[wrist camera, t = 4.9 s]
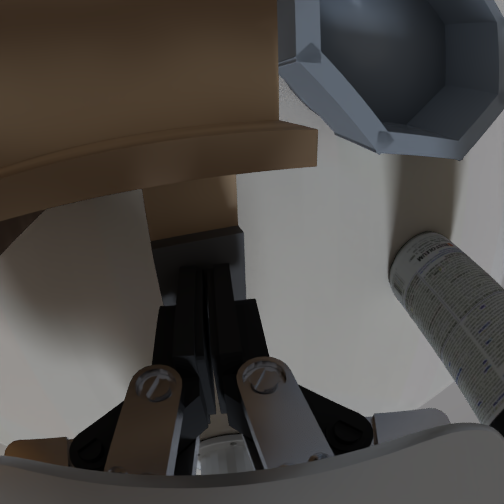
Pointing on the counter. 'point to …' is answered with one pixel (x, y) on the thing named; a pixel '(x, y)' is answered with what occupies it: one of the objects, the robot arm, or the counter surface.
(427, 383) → the counter surface
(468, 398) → the spray can
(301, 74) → the octagonal bowl
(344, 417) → the robot arm
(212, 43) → the lever tray
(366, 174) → the counter surface
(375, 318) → the counter surface
